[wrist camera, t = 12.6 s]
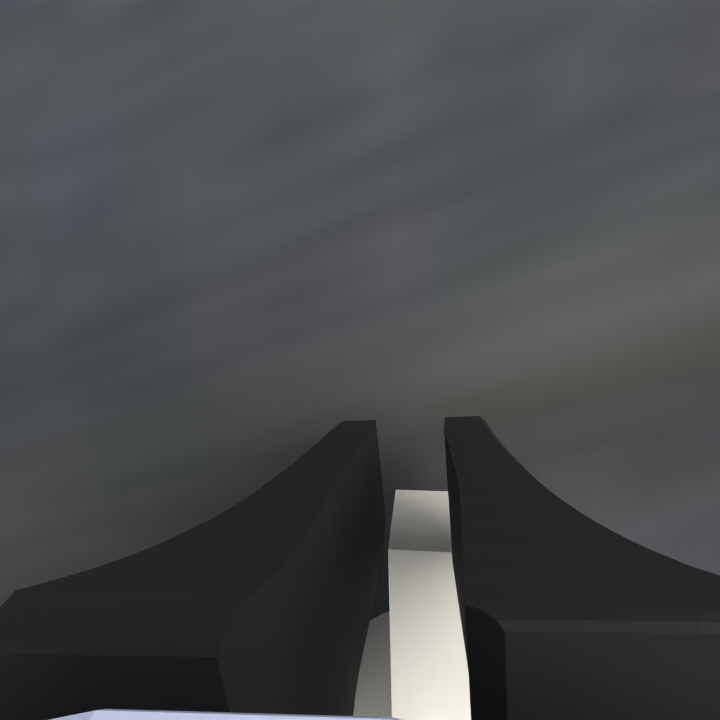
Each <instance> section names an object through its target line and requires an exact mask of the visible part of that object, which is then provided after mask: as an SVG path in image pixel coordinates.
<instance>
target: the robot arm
mask: <svg viewBox="0 0 720 720" xmlns="http://www.w3.org/2000/svg"><path fill="white" fill-rule="evenodd" d="M444 433H445V449H446V465H447V482H448V498H449V514H450V531H451V547H452V563H453V570H454V576H455V583H456V590H457V597H458V604H459V611H460V617H461V624H462V631H463V638H464V645H465V651H466V658H467V665H468V672H469V690H470V708H471V720H720V576H719V575H716V574H713V573H710V572H707V571H703V570H700V569H697V568H694V567H691V566H689V565H686V564H684V563H681V562H679V561H676V560H674V559H671V558H669V557H667V556H664V555H662V554H659V553H657V552H654V551H652V550H650V549H647V548H645V547H643V546H641V545H639V544H637V543H635V542H632V541H630V540H628V539H626V538H624V537H622V536H621V535H619V534H617V533H615V532H613V531H611V530H609V529H608V528H606V527H604V526H602V525H600V524H598V523H596V522H595V521H593V520H591V519H590V518H588V517H587V516H585V515H583V514H582V513H580V512H579V511H577V510H576V509H574V508H573V507H571V506H570V505H568V504H567V503H566V502H564V501H563V500H561V499H560V498H558V497H557V496H556V495H554V494H553V493H552V492H550V491H549V490H548V489H547V488H545V487H544V486H543V485H542V484H541V483H540V482H539V481H537V480H536V479H535V478H534V477H533V476H532V475H531V474H530V473H529V472H528V471H527V470H526V469H525V468H524V467H523V466H522V465H521V464H520V463H519V462H518V461H517V460H516V459H515V458H514V457H513V456H512V455H511V454H510V453H509V451H508V450H507V449H506V448H505V447H504V446H503V444H502V443H501V442H500V441H499V440H498V438H497V437H496V436H495V435H494V433H493V432H492V431H491V429H490V428H489V426H488V425H487V423H486V422H485V421H484V420H483V419H482V418H481V417H480V416H470V417H445V424H444ZM384 527H385V509H384V499H383V490H382V480H381V470H380V460H379V450H378V440H377V431H376V421H375V420H367V421H343V422H341V423H340V424H339V425H337V426H336V427H335V428H334V429H333V430H331V431H330V432H329V433H328V434H327V435H326V436H325V437H324V438H322V439H321V440H320V441H319V442H318V443H317V444H316V445H314V446H313V447H312V448H311V449H310V450H309V451H307V452H306V453H305V454H304V455H303V456H302V457H300V458H299V459H298V460H297V461H296V462H295V463H293V464H292V465H291V466H290V467H288V468H287V469H286V470H284V471H283V472H282V473H280V474H279V475H278V476H276V477H275V478H274V479H272V480H271V481H270V482H269V483H267V484H266V485H265V486H263V487H262V488H261V489H259V490H258V491H256V492H255V493H253V494H252V495H251V496H249V497H247V498H246V499H244V500H243V501H241V502H240V503H238V504H236V505H235V506H233V507H231V508H230V509H228V510H226V511H225V512H223V513H221V514H219V515H218V516H216V517H214V518H212V519H210V520H209V521H207V522H205V523H203V524H200V525H198V526H196V527H194V528H192V529H190V530H188V531H186V532H184V533H182V534H180V535H178V536H176V537H174V538H172V539H169V540H167V541H165V542H163V543H161V544H158V545H156V546H154V547H151V548H149V549H146V550H144V551H141V552H139V553H136V554H134V555H131V556H128V557H125V558H123V559H120V560H117V561H114V562H112V563H109V564H106V565H103V566H100V567H97V568H94V569H91V570H88V571H84V572H81V573H77V574H74V575H70V576H67V577H63V578H60V579H56V580H53V581H49V582H46V583H42V584H39V585H35V586H32V587H28V588H24V589H20V590H16V591H15V592H14V593H13V594H12V595H11V596H10V597H9V598H8V599H7V601H6V602H5V603H4V604H3V605H2V606H1V607H0V720H403V719H398V718H394V717H367V716H353V713H354V704H355V694H356V688H357V682H358V676H359V670H360V665H361V660H362V655H363V651H364V646H365V641H366V636H367V632H368V627H369V622H370V617H371V613H372V608H373V603H374V599H375V594H376V589H377V584H378V579H379V574H380V569H381V564H382V554H383V542H384Z"/></svg>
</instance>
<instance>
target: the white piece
mask: <svg viewBox="0 0 720 720" xmlns="http://www.w3.org/2000/svg"><path fill="white" fill-rule="evenodd" d="M388 567H389V612H386V613H383V614H381V615H379V616H377V617H375V618H373V619H372V620H370V622H369V627H368V632H367V636H366V641H365V646H364V651H363V655H362V660H361V665H360V670H359V676H358V682H357V688H356V694H355V704H354V713H353V716H367V717H394V718H398V719H403V720H471V708H470V690H469V672H468V665H467V658H466V651H465V645H464V638H463V631H462V624H461V617H460V611H459V604H458V597H457V590H456V583H455V576H454V570H453V563H452V547H451V531H450V514H449V498H448V491H420V490H396V491H395V499H394V507H393V515H392V523H391V530H390V538H389V546H388Z"/></svg>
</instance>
